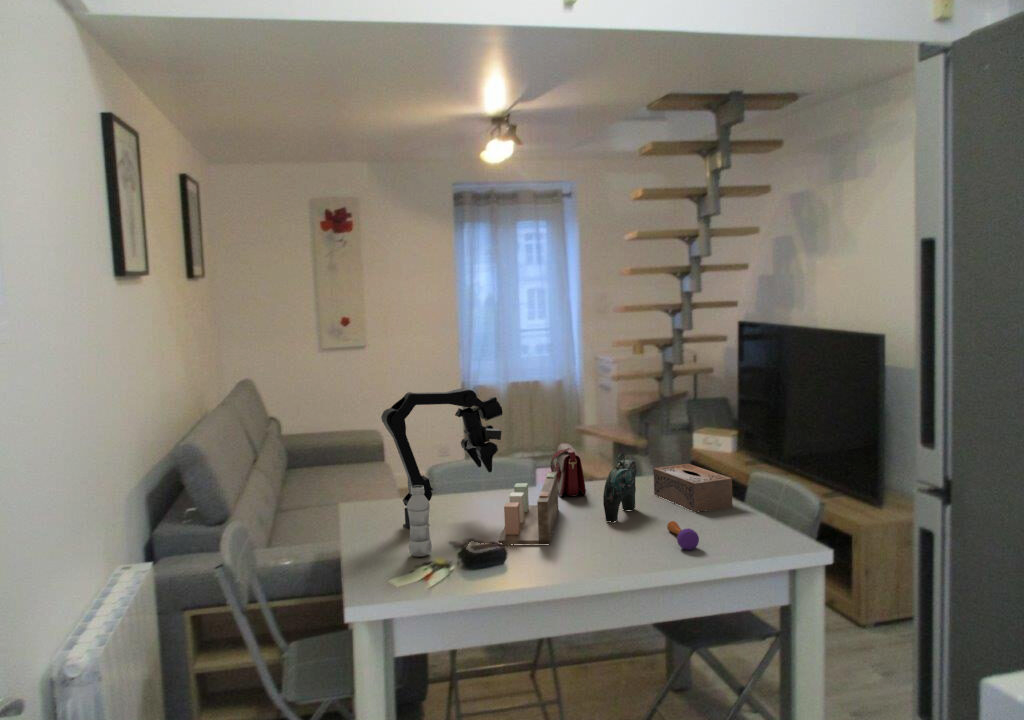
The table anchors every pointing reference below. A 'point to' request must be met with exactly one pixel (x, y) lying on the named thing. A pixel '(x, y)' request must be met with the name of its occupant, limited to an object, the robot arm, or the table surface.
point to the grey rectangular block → (519, 498)
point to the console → (538, 517)
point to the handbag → (568, 470)
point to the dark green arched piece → (620, 489)
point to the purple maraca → (684, 536)
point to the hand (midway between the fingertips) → (485, 469)
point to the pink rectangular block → (512, 518)
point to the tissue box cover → (693, 487)
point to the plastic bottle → (419, 522)
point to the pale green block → (524, 488)
